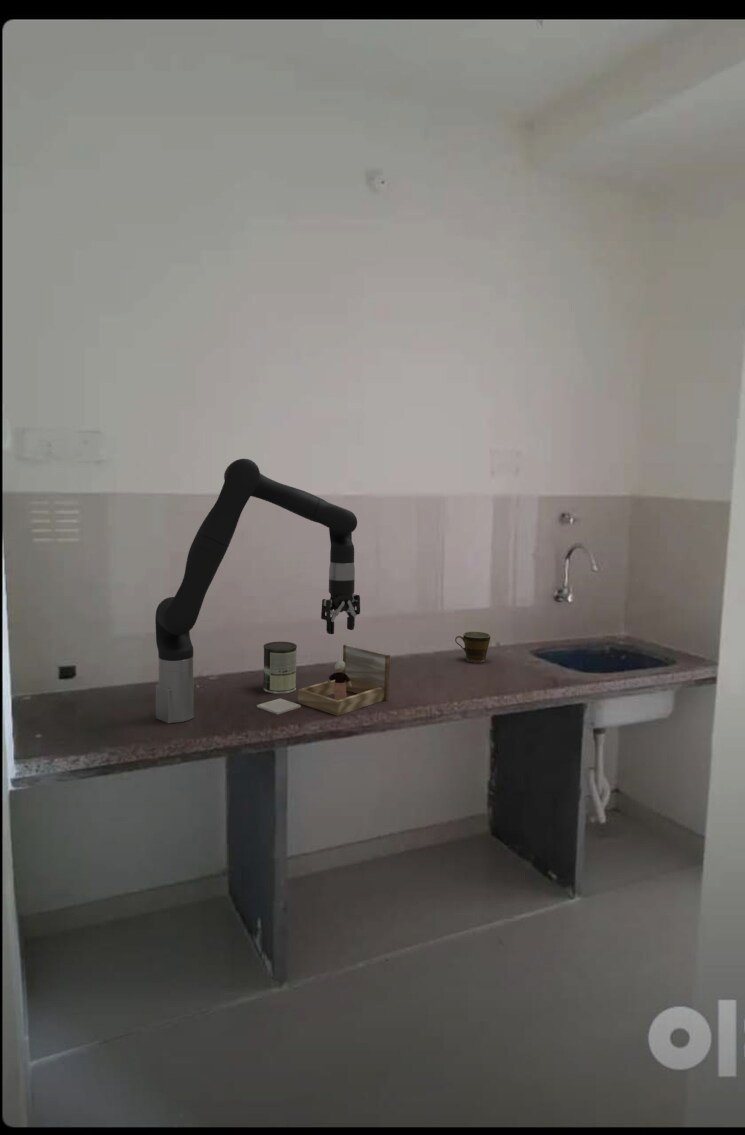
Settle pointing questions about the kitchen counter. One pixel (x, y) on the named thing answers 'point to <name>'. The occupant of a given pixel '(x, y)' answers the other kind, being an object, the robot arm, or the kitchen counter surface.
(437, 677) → the kitchen counter surface
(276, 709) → the tile
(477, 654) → the ceramic cup
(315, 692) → the cold frame
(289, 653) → the coffee can
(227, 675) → the kitchen counter surface
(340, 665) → the grandmother figurine
